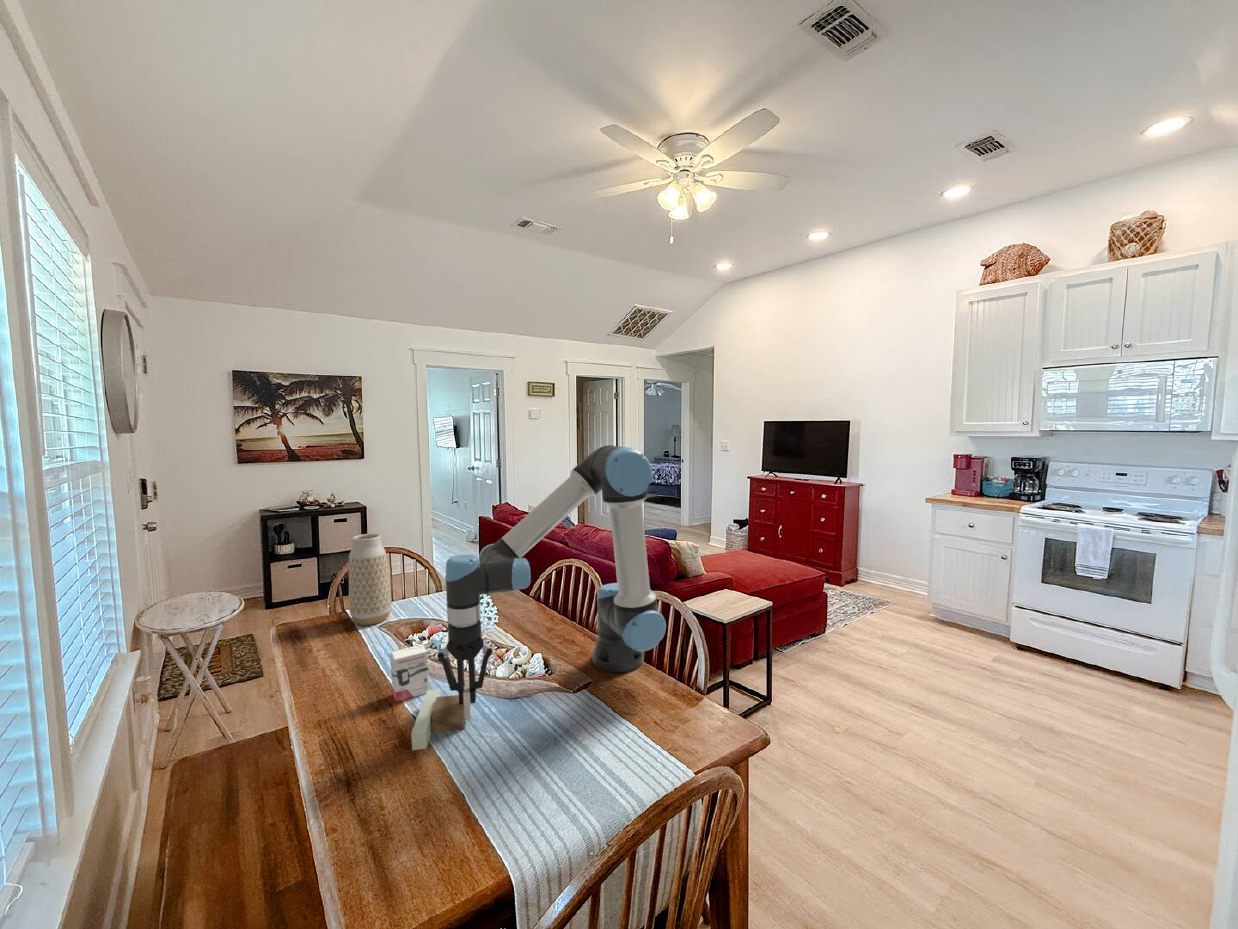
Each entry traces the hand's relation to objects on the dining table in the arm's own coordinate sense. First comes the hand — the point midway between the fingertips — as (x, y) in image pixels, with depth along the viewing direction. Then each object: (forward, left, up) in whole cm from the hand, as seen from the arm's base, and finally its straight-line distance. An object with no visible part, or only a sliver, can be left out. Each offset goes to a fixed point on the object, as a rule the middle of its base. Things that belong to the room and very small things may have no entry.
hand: (468, 715), depth 128 cm
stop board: (+10, 0, -2) cm, 10 cm away
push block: (+4, 0, -2) cm, 5 cm away
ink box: (+17, -16, -2) cm, 23 cm away
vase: (+42, -71, -2) cm, 82 cm away
